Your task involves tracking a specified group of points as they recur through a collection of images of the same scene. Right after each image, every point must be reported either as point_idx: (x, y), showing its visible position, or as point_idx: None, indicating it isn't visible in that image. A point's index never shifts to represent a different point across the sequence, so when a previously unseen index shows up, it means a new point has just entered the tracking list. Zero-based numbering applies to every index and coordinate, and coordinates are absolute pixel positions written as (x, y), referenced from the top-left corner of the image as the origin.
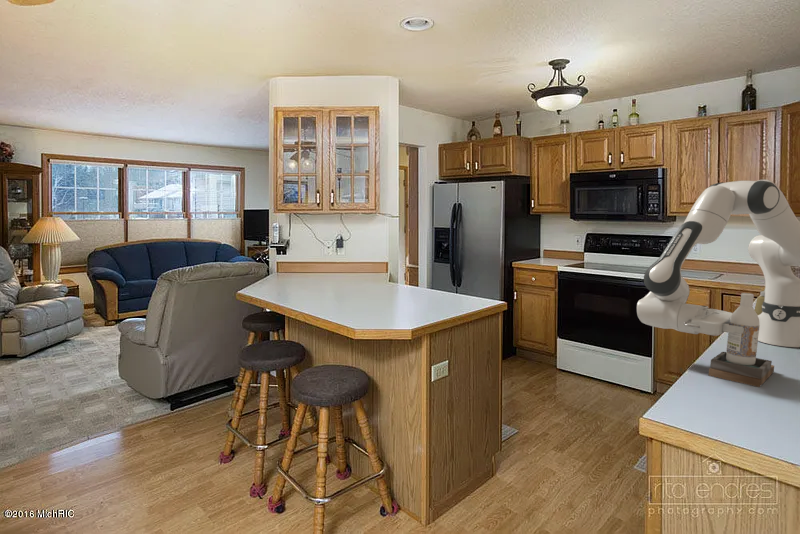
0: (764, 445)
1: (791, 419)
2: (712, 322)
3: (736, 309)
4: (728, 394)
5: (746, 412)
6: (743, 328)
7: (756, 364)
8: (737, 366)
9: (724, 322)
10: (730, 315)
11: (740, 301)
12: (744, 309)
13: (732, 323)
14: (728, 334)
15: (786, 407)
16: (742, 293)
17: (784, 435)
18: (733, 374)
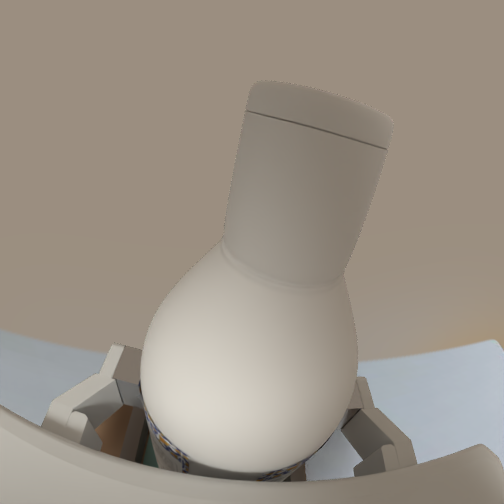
0: (497, 358)
1: (419, 356)
2: (498, 471)
3: (309, 358)
4: None
5: (454, 399)
6: (358, 377)
7: (147, 425)
8: (302, 464)
9: (391, 470)
10: (38, 452)
11: (340, 235)
12: (346, 286)
13: (327, 440)
14: None
15: (378, 368)
16: (361, 103)
17: (465, 352)
18: (305, 478)
